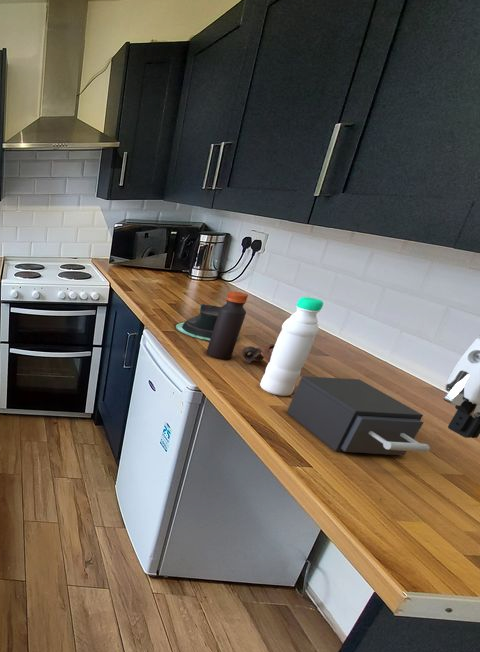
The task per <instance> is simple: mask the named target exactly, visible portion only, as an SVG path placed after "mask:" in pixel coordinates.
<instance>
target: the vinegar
mask: <svg viewBox="0 0 480 652" xmlns="http://www.w3.org/2000/svg"><path fill="white" fill-rule="evenodd" d="M248 297H249V295H248V294H247V293H245V292H241V291H228V293H227V296H226V303H225V304H223V305H222V306H220V307H221V308H220V309H219V313H218V316H217V319H216V322H215V326H214V329H213V332H212V335H211V339H210V340H209V343H208V345H207V349H206V354H207V355H208V356H209V357H211V358H215V359H217V360H226V361H227V360H229V359H231V358H232V355H233V354H234V351H235V347H236V344H237V342H238V339H239V338H238V336H240V332H241V330H242V326H243V323H244V321H245V318H246V315H247V311H246V309H245V308H244V305H245V304H246V303H247V299H248ZM237 338H238V339H237Z"/></svg>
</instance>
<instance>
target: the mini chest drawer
mask: <svg viewBox="0 0 480 652" xmlns="http://www.w3.org/2000/svg"><path fill="white" fill-rule="evenodd" d="M423 425H424V421H422V420H419V419H408V418H401V417H384V416H367V415H358V416H357V417H356V419H355V421H354V423H353V425H352V426H351V428H350V430H349V432H348V434H347V436H346V438H345V440H344V442H343V444H342V446H341V449H342V450H344V451H345V452H344V453H352V452H359V453H358V454H369V453H375V454H374V455H385V454H392V455H391V456H405V454H406V453H407V452H420V453H421V452H423V453H428V452H429V451H430V450H431V447H430V445H429V444H428V443H421V442H419V441H418V440H415V438H416V436H417V434H418V433H419V431H420V430H421V428H422V426H423Z"/></svg>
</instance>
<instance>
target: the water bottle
mask: <svg viewBox="0 0 480 652" xmlns="http://www.w3.org/2000/svg"><path fill="white" fill-rule="evenodd" d="M323 306H324V301H323V300H321V299H320V298H319V299H318V298H315V297H309V296H302V297H299V299H298V300H297V302H296V311H295V312H294V313H292V314H291V315H290V317H288V318H287V319H285V321H284V322H283V324H282V326H281V330H280V332H279V335H278V336H277V339H276V341H275V346H274V349H273V348H272V352H271V354H272V355H271V359H270V362H267V365H266V366H265V371H264V374H263V376H262V378H261V380H260V383H259V386H260V388H261V389H262V390H263V391H265V392H267V393H268V394H271V395H274V396H279V397H288V396H291V395H292V394H293V393H294V390H295V387H296V384H297V381H298V380H299V378H300V376H301V372H302V369H303V367H304V365H305V363H306V361H307V359H308V357H309V354H310V352H311V350H312V348H313V344H314V341H315V337H317V335H318V334H319V331H320V329H319V324H318V322H319V321H318V318H317V315H318V313H320V311H321V310H322V308H323Z"/></svg>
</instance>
